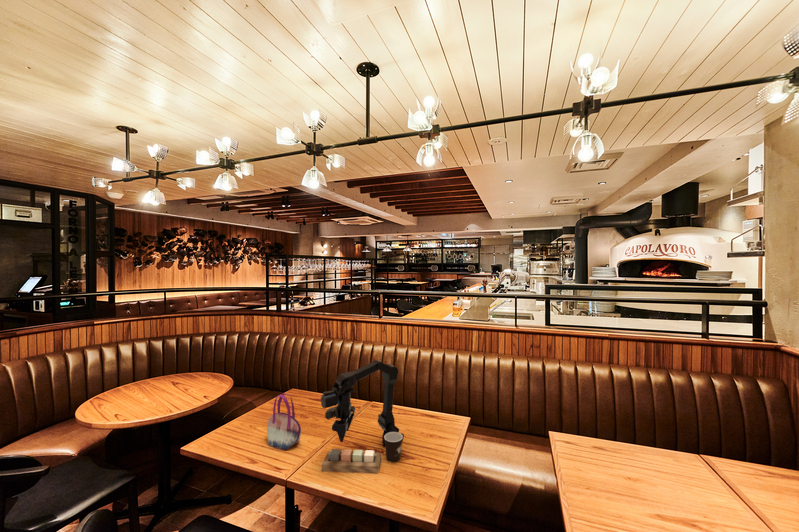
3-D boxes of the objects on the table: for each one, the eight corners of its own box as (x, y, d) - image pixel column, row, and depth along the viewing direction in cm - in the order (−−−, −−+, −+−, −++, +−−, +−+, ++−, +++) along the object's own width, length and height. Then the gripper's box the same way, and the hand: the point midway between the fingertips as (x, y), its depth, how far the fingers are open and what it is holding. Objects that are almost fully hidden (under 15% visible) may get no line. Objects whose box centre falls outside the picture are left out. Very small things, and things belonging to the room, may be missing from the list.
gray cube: (340, 457, 143) (340, 449, 143) (338, 463, 139) (338, 454, 139) (332, 457, 144) (332, 448, 144) (329, 463, 140) (329, 454, 140)
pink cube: (351, 458, 143) (351, 449, 143) (349, 463, 139) (349, 454, 139) (343, 458, 143) (343, 449, 143) (341, 463, 139) (341, 454, 139)
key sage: (363, 458, 143) (363, 450, 143) (361, 464, 139) (361, 455, 139) (354, 458, 143) (354, 449, 143) (352, 463, 139) (352, 455, 139)
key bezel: (381, 459, 145) (380, 452, 145) (378, 473, 135) (378, 466, 135) (328, 457, 147) (328, 451, 147) (321, 471, 137) (321, 464, 137)
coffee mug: (389, 466, 140) (389, 443, 140) (381, 455, 148) (381, 434, 148) (411, 458, 146) (411, 437, 146) (402, 449, 153) (402, 428, 153)
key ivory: (374, 459, 142) (374, 450, 142) (373, 464, 138) (373, 455, 138) (365, 458, 143) (365, 450, 143) (364, 464, 139) (364, 455, 139)
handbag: (260, 443, 158) (259, 394, 158) (275, 433, 167) (275, 387, 167) (292, 453, 150) (292, 401, 149) (306, 443, 159) (306, 394, 159)
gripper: (333, 393, 154) (333, 425, 154) (320, 411, 135) (320, 447, 135) (355, 394, 153) (355, 426, 153) (345, 412, 134) (345, 448, 134)
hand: (344, 436), depth 144 cm, fingers open, 9 cm apart
